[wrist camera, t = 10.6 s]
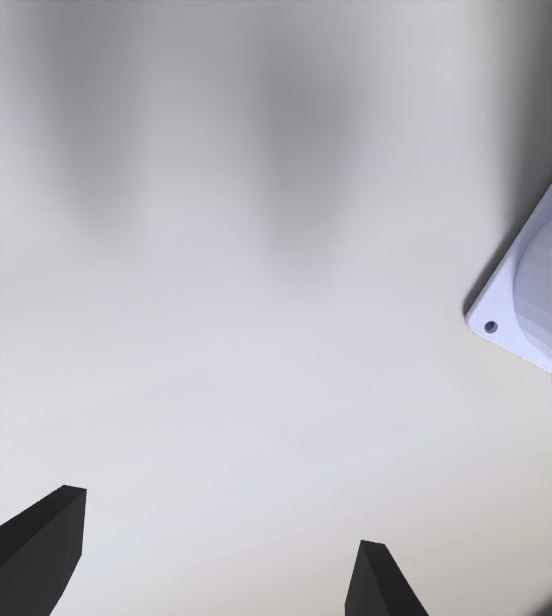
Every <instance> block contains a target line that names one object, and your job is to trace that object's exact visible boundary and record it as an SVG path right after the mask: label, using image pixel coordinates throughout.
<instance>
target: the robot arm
mask: <svg viewBox="0 0 552 616" xmlns="http://www.w3.org/2000/svg"><path fill="white" fill-rule="evenodd" d="M489 321H494V326H493V328H492V329H491V330H488V331H486V330H485V329H484V327H485V324H486V323H487V322H489ZM465 323H466V325H467V327H468V328H469V329H470V330H472V331H473V332H474V333H476V334H478V335H480V336H482V337H484V338H486V339H488V340H490V341H492V342H493V343H495V344H497V345H499V346H501V347H503V348H505V349H507V350H509V351H510V352H512V353H514V354H516V355H518V356H520V357H522V358H524V359H526V360H528V361H529V362H531V363H533V364H535V365H537V366H539V367H541V368H543V369H545V370H546V371H548V372H550V373H552V183H551V185H550V187H549V188H548V190H547V191H546V193H545V194H544V196H543V197H542V199H541V200H540V202H539V203H538V205H537V207H536V208H535V210H534V211H533V213H532V214H531V216H530V217H529V219H528V220H527V222H526V223H525V225H524V227H523V228H522V230H521V231H520V233H519V234H518V236H517V237H516V239H515V240H514V242H513V244H512V245H511V247H510V248H509V250H508V251H507V253H506V254H505V256H504V257H503V259H502V260H501V262H500V264H499V265H498V267H497V268H496V270H495V271H494V273H493V274H492V276H491V277H490V279H489V280H488V282H487V284H486V285H485V287H484V288H483V290H482V291H481V293H480V294H479V296H478V297H477V299H476V300H475V302H474V304H473V305H472V307H471V308H470V310H469V311H468V313H467V315H466V317H465ZM86 493H87V489H84V488H78V487H73V486H68V485H63V486H61V487H60V488H58V489H57V490H55V491H53V492H52V493H50V494H49V495H47V496H46V497H44V498H43V499H41V500H40V501H38V502H36V503H35V504H33V505H32V506H30V507H29V508H27V509H26V510H24V511H23V512H21V513H20V514H18V515H17V516H15V517H13V518H12V519H10V520H9V521H7V522H5V523H4V524H2V525H1V526H0V616H49V615H50V614H51V612H52V610H53V609H54V607H55V606H56V604H57V602H58V601H59V599H60V597H61V596H62V594H63V592H64V590H65V588H66V586H67V584H68V582H69V580H70V578H71V576H72V574H73V572H74V570H75V567H76V565H77V563H78V561H79V559H80V557H81V555H82V542H83V530H84V518H85V505H86ZM345 616H429V615H428V613H427V612H426V610H425V609H424V607H423V606H422V604H421V603H420V601H419V600H418V598H417V597H416V595H415V593H414V592H413V590H412V589H411V587H410V585H409V584H408V582H407V580H406V579H405V577H404V575H403V574H402V572H401V570H400V569H399V567H398V565H397V564H396V562H395V560H394V559H393V557H392V555H391V554H390V552H389V550H388V549H387V547H386V546H385V544H381V543H375V542H370V541H365V540H361V542H360V546H359V550H358V554H357V558H356V562H355V566H354V570H353V574H352V578H351V582H350V586H349V590H348V594H347V598H346V602H345Z"/></svg>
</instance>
